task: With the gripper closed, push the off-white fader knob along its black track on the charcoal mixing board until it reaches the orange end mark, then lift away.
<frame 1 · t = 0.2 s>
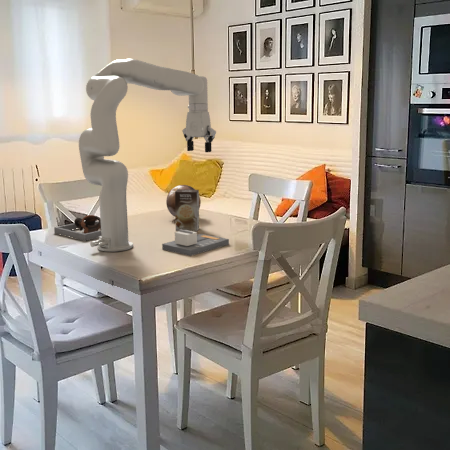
hand: (199, 151, 240), 31 cm above the table, tool pointing down, fingers open, 9 cm apart
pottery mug: (88, 233, 237), resting in grey shallow tray
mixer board: (196, 246, 214), on the table
coffee box: (187, 230, 241), on the table
grey shallow tray: (88, 232, 237), on the table
fader knob: (186, 249, 210), resting on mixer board, slide at 0.0 cm
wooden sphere: (183, 219, 262), on the table
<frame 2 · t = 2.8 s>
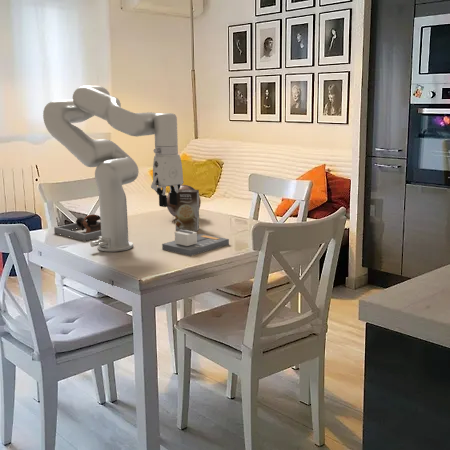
hand: (168, 204, 200), 17 cm above the table, tool pointing down, fingers open, 4 cm apart
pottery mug: (90, 233, 238), resting in grey shallow tray
everything else where it was.
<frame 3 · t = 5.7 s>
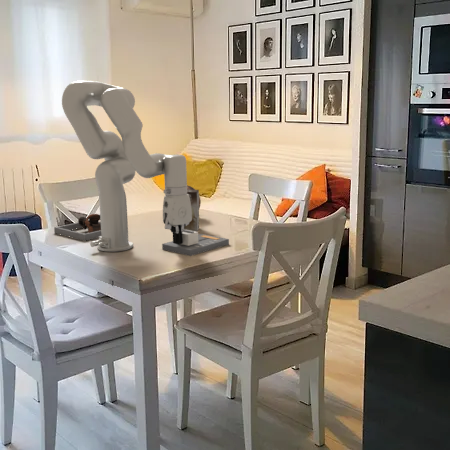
hand: (177, 243, 206), 3 cm above the table, tool pointing down, fingers closed
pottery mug: (92, 232, 239), resting in grey shallow tray
fader knob: (187, 249, 210), resting on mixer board, slide at 0.6 cm, touching gripper
everything else where it was.
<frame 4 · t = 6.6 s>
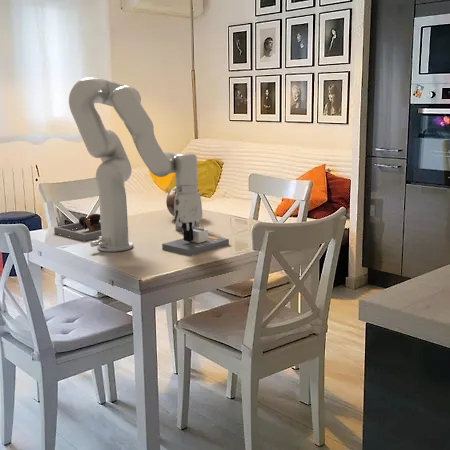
hand: (188, 240, 210), 3 cm above the table, tool pointing down, fingers closed
fader knob: (197, 246, 214), resting on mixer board, slide at 5.8 cm, touching gripper
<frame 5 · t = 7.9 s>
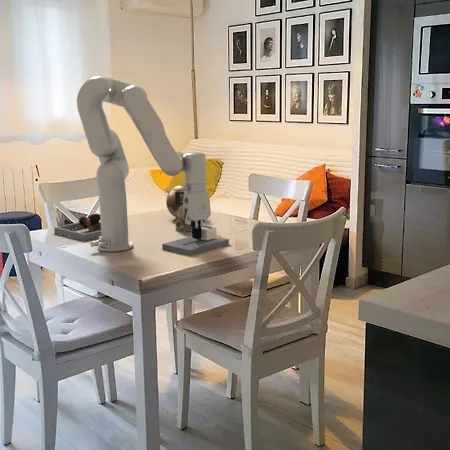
hand: (196, 238, 213), 3 cm above the table, tool pointing down, fingers closed
fader knob: (205, 244, 217), resting on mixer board, slide at 10.2 cm, touching gripper
everything else where it was.
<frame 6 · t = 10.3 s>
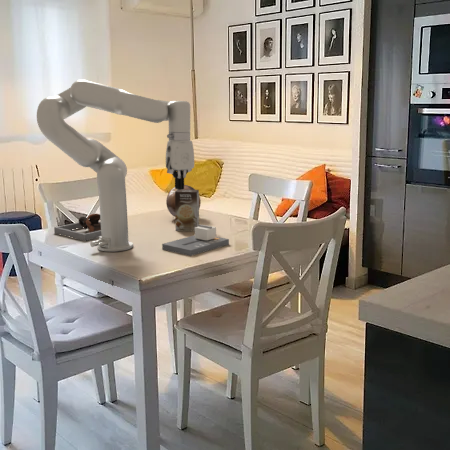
hand: (179, 188, 211), 21 cm above the table, tool pointing down, fingers closed
fader knob: (205, 244, 217), resting on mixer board, slide at 10.1 cm
everything else where it was.
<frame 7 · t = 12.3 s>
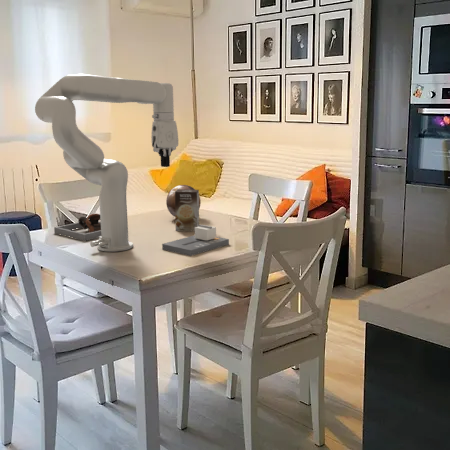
hand: (165, 166, 224), 27 cm above the table, tool pointing down, fingers closed
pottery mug: (93, 232, 240), resting in grey shallow tray
everything else where it was.
at the end: fader knob slide at 10.1 cm; fader knob touching nothing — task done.
